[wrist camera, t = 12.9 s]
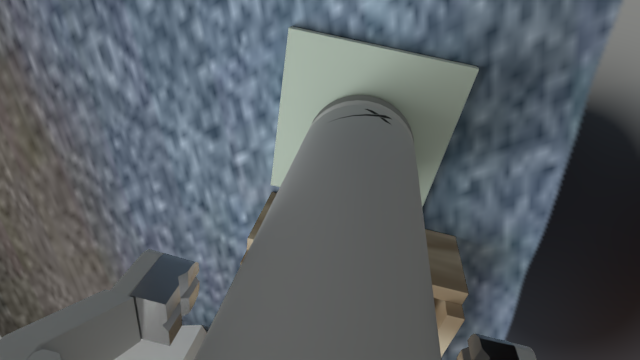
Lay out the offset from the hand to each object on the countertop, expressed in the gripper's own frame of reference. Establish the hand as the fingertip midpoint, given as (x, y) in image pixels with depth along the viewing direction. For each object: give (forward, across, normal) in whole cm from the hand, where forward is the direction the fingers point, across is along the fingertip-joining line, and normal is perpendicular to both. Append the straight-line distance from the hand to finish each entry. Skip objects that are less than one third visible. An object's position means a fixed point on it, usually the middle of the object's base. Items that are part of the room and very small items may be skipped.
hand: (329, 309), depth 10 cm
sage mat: (+13, 0, 0) cm, 13 cm away
